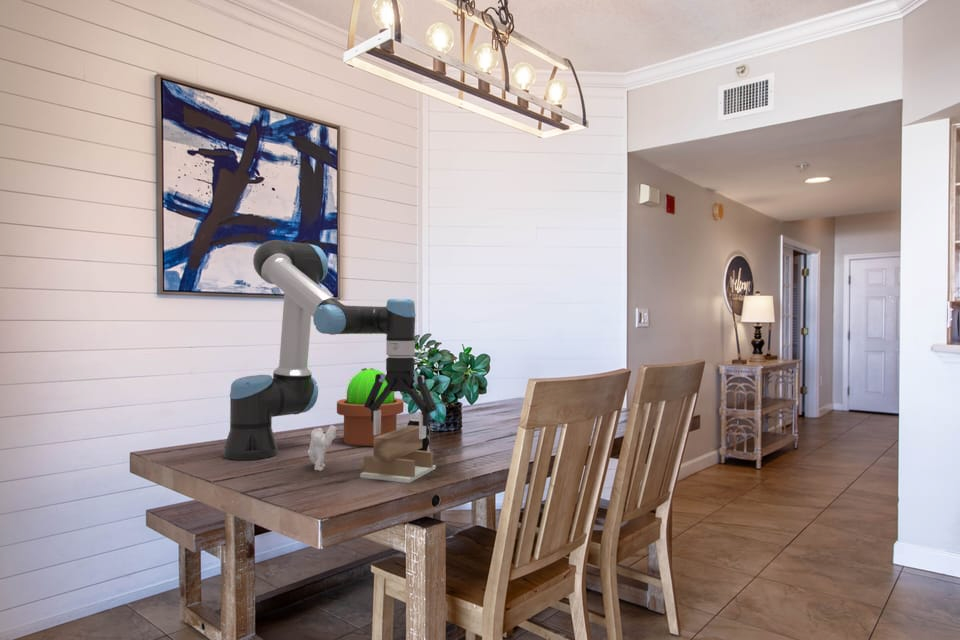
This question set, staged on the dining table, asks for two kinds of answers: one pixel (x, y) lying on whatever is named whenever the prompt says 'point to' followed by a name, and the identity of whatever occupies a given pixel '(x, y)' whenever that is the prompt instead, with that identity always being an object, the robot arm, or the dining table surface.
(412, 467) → the rest stand
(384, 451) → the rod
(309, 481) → the dining table surface
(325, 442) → the figurine
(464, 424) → the dining table surface
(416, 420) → the beverage can
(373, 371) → the potted cactus
